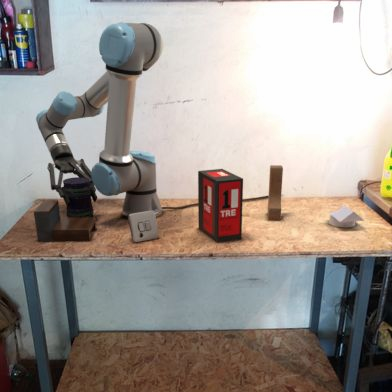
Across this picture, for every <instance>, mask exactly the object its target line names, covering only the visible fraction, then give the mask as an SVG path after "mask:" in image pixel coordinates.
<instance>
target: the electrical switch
mask: <svg viewBox="0 0 392 392" xmlns="http://www.w3.org/2000/svg"><path fill="white" fill-rule="evenodd" d="M127 220H128V225H129V231H130V236H131V240H132V241H133V243H139V242H144V241H150V240H156V239H158V238H159V237H160V235H159V234H160V233H159V227H158V222H157V217H156V216H155V211H152V210H151V211H145V212H139V213H134V214H130V215H129V217H128V218H127Z"/></svg>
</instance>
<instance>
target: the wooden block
mask: <svg viewBox="0 0 392 392" xmlns="http://www.w3.org/2000/svg"><path fill="white" fill-rule="evenodd" d="M283 175H284V168H283V165H281V164H277V165H275V164H274V165H273V164H271V165H269V176H268V177H269V179H268V195H269V196H268V195H267V196H268V200H267V202H268V203H267V219H268V221H281V219H282V192H283Z"/></svg>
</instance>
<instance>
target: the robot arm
mask: <svg viewBox="0 0 392 392" xmlns="http://www.w3.org/2000/svg"><path fill="white" fill-rule="evenodd" d="M98 50H99V55H100V56H101V60H102V61H103V62H104V64H105V70H106V72H104V73H103V75H101V76H100V78H98V79H97V80H96V81H95V82H94V83H93V84H92V85H91V86H90V87H89V88H88V89H87V90H86V91H85V92H84V93H83V94H81V95H75V96H74V95H73V94H72V93H70V92H67V91H59V92H58V93H57V94H56V96H55V97H54V98H53V100H52V102H51V103H50V105H49V108H48V109H43V110H41V111H40V112H38V113H37V115H36V118H35V121H36V124H37V127H38V130H39V131H40V134H41V136H42V138H43V141H44V143H45V145H46V148H47V150H48V151H49V155H50V157H51V160H52V162H53V163H52V162H48V164H47V171H48V173H49V182H50V190H51V191H55V192H56V193H58V195H59V197H60V199H63V201H64V203H65V206H66V207H68V206H69V204H70V200H69V198H68V196H67V193H66V191H65V189H64V186H62V184H63V180H64V179H63V178H64V175H67V174H73V175H75V176H77V177H84V178H89V179H90V184H91V192H92V195H91V200H92V201H93V203H96V202H97V200H98V196H97V193H96V191H98V192H99V193H100V194H101V195H103V196H105V197H112V196H118V195H120V194H124V193H125V196H124V200H123V205H122V209H121V211H122V214H121V215H122V216H123V217H125V218H127V219H128V217H129V215H130V214H134V213H139V212H145V211H151V210H152V211H155V216H156V218H158V217H160V216H162V215H163V210H180V209H186V208H189V207H194V206H198V202H196V203H195V202H194V203H189V204H186V205H181V206H162V204H161V201H160V199H159V196H158V192H157V167H156V165H157V163H156V157H155V154H154V153H152V152H150V151H149V152H148V151H142V150H141V151H140V150H130V149H131V140H132V131H133V129H132V128H133V120H134V109H135V98H136V89H137V81H138V79H139V78H140V77H141V76H142V75H143V72H147V71H148V70H150V69H151V68H152V67H153V66H154V65H155V64H156V63H157V62H158V61H159V59H160V58H161V56H162V53H163V50H164V41H163V37H162V34H161V33H160V32H159V29H157V28H156V27H155V26H154V25H152V24H149V23H147V22H140V23H139V22H117V23H112V24H110V25H108V26H106V28H105V29H104V30H103V31H102V33H101V34H100V37H99V42H98ZM106 104H107V106H106V107H107V108H106V121H105V133H104V134H105V135H104V136H105V137H104V148H103V149H102V150H101V151H100V152H99V156H98V162H97V163H95V164H94V165H93V166H92V167H91V169H90V168H89V167H88V165H86V162H85V160H84V158H80V159H79V160H77V159H75V156H74V154H73V152H72V149H71V148H70V145H69V143H68V141H67V138H66V136H65V133H64V131H63V129H64V127H66V125H67V123H68V122H69V121H71V120H78V119H79V120H80V119H85V118H94V117H96V116H99V115H101V114H102V113H103V110H104V107H105V105H106ZM55 169H56V170H58V171H59V174H58V179H57V182H56V175H55ZM56 183H57V184H56ZM268 196H269V194H268V195H263V196H257V197H249V198H243V202H246V201H247V202H248V201H249V202H250V201H257V200H263V199H267V198H268Z"/></svg>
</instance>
